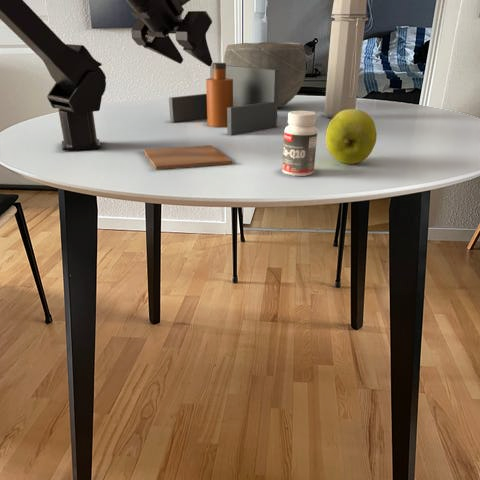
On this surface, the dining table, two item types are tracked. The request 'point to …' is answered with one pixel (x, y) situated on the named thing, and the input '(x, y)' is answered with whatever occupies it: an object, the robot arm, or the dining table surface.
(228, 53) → the bowl
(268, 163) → the dining table surface
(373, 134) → the apple
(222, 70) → the amber bottle
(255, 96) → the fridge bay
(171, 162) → the wooden square board
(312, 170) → the pill bottle
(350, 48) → the water bottle
